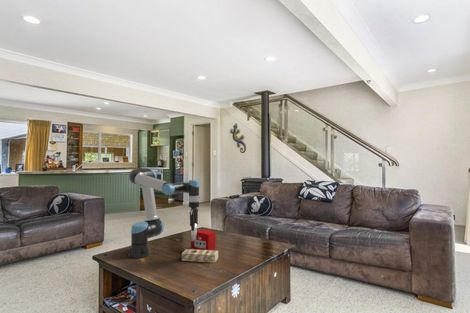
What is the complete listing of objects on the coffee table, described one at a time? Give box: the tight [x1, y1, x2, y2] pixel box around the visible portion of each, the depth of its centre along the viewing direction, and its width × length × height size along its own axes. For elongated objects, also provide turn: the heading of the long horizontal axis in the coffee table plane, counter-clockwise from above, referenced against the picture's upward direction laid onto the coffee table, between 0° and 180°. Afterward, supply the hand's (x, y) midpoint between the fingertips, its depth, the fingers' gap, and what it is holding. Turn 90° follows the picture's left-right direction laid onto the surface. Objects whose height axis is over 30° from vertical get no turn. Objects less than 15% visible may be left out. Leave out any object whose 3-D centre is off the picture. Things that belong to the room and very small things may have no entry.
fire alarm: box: [190, 229, 217, 251], centre depth 217 cm, size 16×11×15 cm
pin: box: [190, 223, 198, 242], centre depth 198 cm, size 4×4×12 cm
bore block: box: [181, 248, 219, 264], centre depth 197 cm, size 24×10×5 cm, turn 81°
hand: (193, 234), depth 198 cm, fingers closed on pin, 3 cm apart
